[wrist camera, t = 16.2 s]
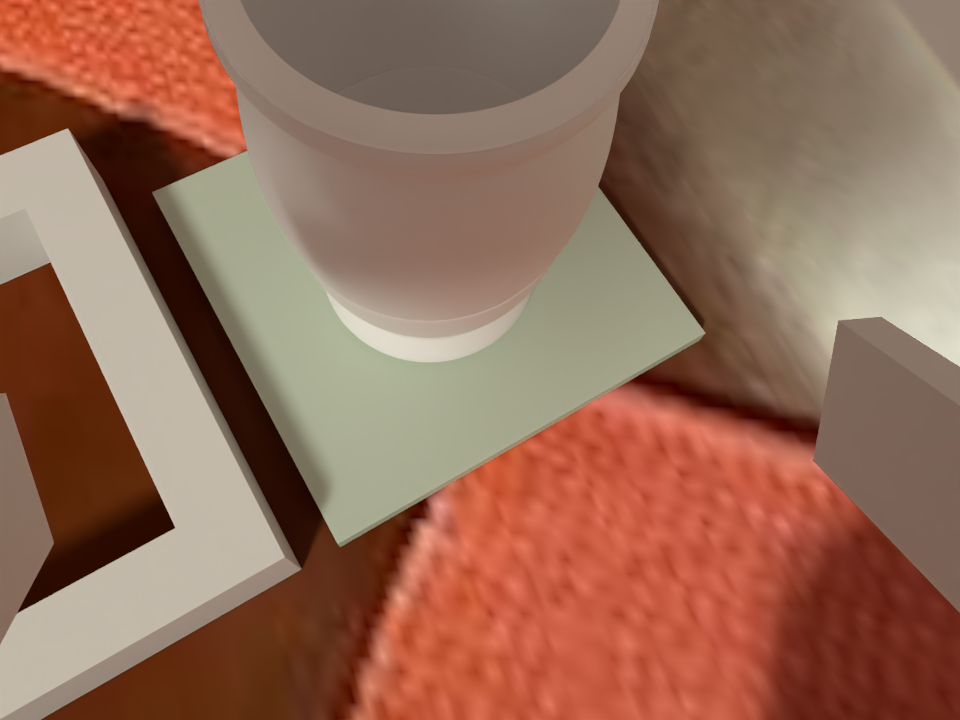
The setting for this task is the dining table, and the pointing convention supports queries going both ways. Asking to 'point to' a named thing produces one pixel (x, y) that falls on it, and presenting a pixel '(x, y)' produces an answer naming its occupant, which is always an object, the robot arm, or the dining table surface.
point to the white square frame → (157, 433)
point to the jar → (429, 147)
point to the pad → (407, 384)
